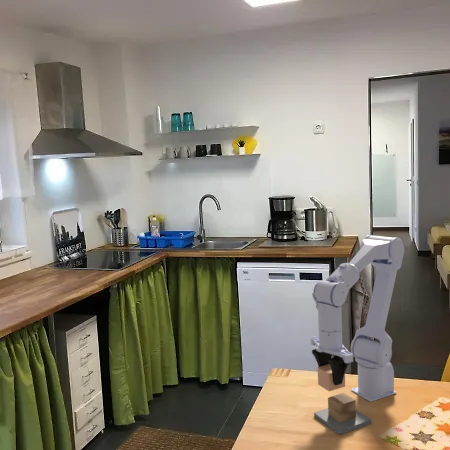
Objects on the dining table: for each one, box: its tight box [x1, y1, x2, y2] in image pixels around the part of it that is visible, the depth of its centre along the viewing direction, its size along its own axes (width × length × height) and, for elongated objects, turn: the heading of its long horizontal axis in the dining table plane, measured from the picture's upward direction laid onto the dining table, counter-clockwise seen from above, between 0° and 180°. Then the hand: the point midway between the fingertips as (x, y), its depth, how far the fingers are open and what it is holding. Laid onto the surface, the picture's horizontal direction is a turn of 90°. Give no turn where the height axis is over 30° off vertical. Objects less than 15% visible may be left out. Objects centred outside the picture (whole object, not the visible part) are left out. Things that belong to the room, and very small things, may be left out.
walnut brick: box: [327, 392, 357, 423], centre depth 125 cm, size 5×4×5 cm
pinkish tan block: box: [317, 364, 346, 392], centre depth 126 cm, size 5×4×5 cm
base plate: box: [313, 407, 372, 436], centre depth 125 cm, size 10×10×1 cm
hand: (331, 380), depth 126 cm, fingers closed on pinkish tan block, 4 cm apart
